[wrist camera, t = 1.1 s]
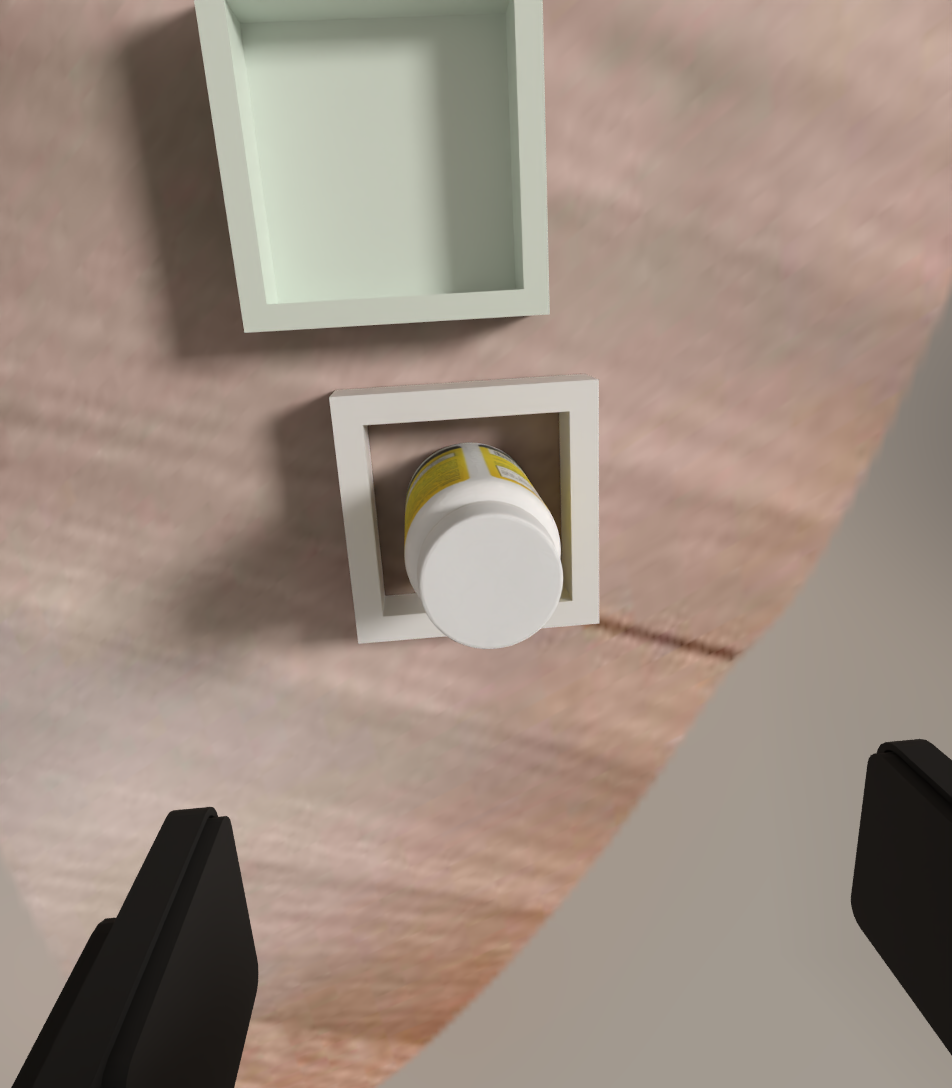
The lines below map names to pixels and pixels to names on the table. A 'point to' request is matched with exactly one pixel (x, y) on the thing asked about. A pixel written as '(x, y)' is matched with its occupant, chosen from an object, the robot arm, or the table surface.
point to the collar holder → (458, 401)
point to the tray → (380, 158)
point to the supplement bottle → (481, 547)
